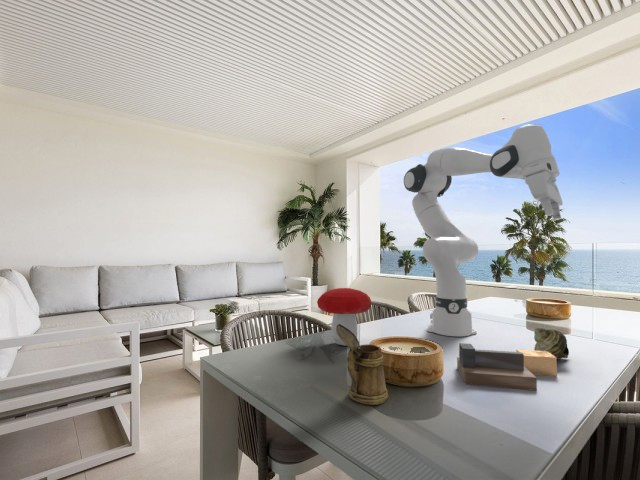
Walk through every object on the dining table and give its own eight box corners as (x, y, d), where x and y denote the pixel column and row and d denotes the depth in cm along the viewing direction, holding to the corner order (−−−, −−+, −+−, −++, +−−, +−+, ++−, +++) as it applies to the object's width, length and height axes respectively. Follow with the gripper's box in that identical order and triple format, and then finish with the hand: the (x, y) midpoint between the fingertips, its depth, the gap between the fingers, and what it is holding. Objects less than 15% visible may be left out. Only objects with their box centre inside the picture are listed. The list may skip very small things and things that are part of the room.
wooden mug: (325, 400, 76) (325, 320, 76) (368, 385, 84) (368, 313, 84) (352, 416, 69) (352, 327, 69) (396, 398, 77) (395, 319, 77)
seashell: (585, 368, 96) (584, 332, 96) (541, 365, 98) (540, 330, 99) (566, 356, 106) (565, 324, 107) (526, 354, 109) (525, 323, 109)
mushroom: (379, 341, 123) (379, 287, 124) (361, 356, 107) (361, 293, 107) (330, 335, 132) (330, 284, 133) (307, 347, 116) (307, 289, 116)
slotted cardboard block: (516, 366, 97) (516, 349, 97) (548, 369, 95) (548, 351, 96) (523, 373, 92) (523, 355, 92) (558, 376, 90) (557, 357, 90)
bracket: (457, 367, 96) (456, 339, 96) (518, 372, 93) (518, 343, 93) (465, 384, 85) (465, 352, 85) (536, 390, 81) (536, 356, 81)
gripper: (538, 184, 111) (550, 224, 108) (519, 170, 97) (532, 215, 93) (560, 176, 107) (573, 218, 103) (544, 161, 92) (558, 208, 89)
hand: (553, 217), depth 98 cm, fingers open, 8 cm apart
